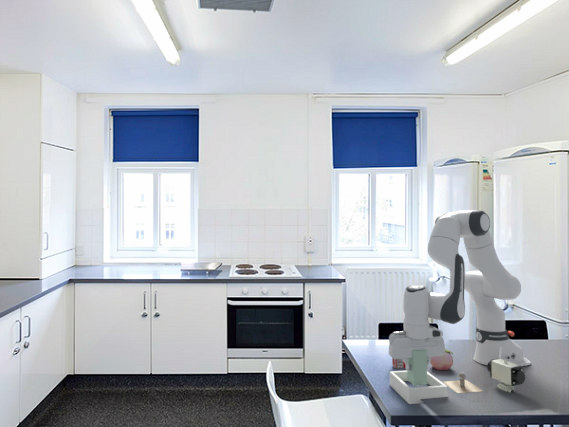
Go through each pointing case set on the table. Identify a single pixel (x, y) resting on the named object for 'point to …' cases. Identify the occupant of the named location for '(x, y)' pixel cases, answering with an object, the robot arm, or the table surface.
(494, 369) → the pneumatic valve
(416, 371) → the sage strut
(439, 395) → the off-white rectangular frame
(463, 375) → the stud block
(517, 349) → the robot arm
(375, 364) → the table surface
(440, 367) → the decorative fruit
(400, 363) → the soda can
